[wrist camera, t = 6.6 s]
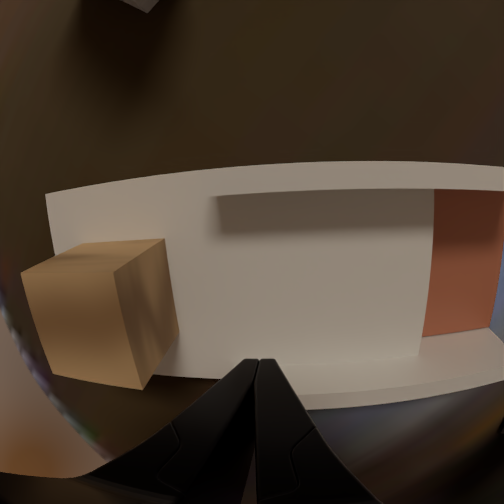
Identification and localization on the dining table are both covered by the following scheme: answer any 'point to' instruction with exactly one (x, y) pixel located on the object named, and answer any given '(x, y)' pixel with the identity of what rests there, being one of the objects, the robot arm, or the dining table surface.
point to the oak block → (104, 310)
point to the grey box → (142, 4)
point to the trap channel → (319, 271)
